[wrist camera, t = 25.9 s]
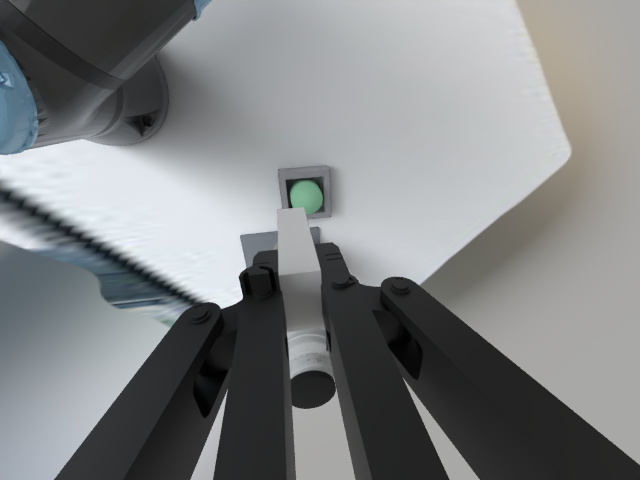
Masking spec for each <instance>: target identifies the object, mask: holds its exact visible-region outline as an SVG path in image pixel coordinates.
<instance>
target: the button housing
mask: <svg viewBox="0 0 640 480" xmlns="http://www.w3.org/2000/svg"><path fill="white" fill-rule="evenodd" d="M278 177H279V185H280V193H281V201H282V209H289V208H288V199H287V190H286V181H285V180H288V179H299V178H311V177H321V189H322V196H323V202H322V206H321V207H320V208H319V209H318V210H317V211H316V212H314V213H312V214H307V215H306V217H307V219H315V218H324V217H331V200H330V169H329V168H328V167H327V166H315V167H302V168H290V169H278Z"/></svg>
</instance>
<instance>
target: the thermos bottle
mask: <svg viewBox="0 0 640 480" xmlns="http://www.w3.org/2000/svg"><path fill="white" fill-rule="evenodd" d="M276 249H278V241H277V242H276V244H275V246H274V248H273V250H276ZM287 338H288V347H289V364H290V382H291V400H292V406H295V407H297V408H303V409H310V408H315V407H319V406H321V405H323V404H325V403H326V402H328V401H329V400H330V399H331V398H332V397H333V396H334V394H335V391H336V386H335V382H334V379H333V377H334V374H333V369H332V365H331V360H330V355H329V351H326V333H325V324H324V327H321V328H314V329H307V330H300V331H294V332H287Z"/></svg>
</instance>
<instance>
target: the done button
mask: <svg viewBox="0 0 640 480" xmlns="http://www.w3.org/2000/svg"><path fill="white" fill-rule="evenodd" d="M290 198H291V203H292V206H293V208H300V207H304V210H305V213H306V215H307V214H312V213H314V212H316V211H317V210H318V209H319V208H320V207H321V205H322V202H323V196H322V193H321V191H320V189H319V187H318V185H317V183H316V182H315V181H314V180H312V179H310V178H299V179H297V180H296V181H294V182H293V184H292V185H291V188H290Z"/></svg>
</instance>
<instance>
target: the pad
mask: <svg viewBox="0 0 640 480" xmlns="http://www.w3.org/2000/svg"><path fill="white" fill-rule="evenodd" d="M310 232H311V236H312V239H313V243H314V244H319V230H318V227H312V228H310ZM240 238H241V243H242V248H243V253H244V257H245V262H246V267H247V268H249V267H251V266H252V263H253V257H254V256H255V255H256V254H257V253H258V252H259V251H267V250H273V248H274V246H275V244H276V242H277V241H278V231H275V232H265V233H256V234H247V235H240Z"/></svg>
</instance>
